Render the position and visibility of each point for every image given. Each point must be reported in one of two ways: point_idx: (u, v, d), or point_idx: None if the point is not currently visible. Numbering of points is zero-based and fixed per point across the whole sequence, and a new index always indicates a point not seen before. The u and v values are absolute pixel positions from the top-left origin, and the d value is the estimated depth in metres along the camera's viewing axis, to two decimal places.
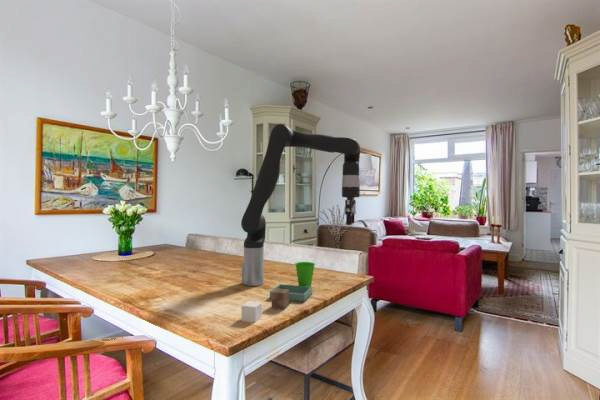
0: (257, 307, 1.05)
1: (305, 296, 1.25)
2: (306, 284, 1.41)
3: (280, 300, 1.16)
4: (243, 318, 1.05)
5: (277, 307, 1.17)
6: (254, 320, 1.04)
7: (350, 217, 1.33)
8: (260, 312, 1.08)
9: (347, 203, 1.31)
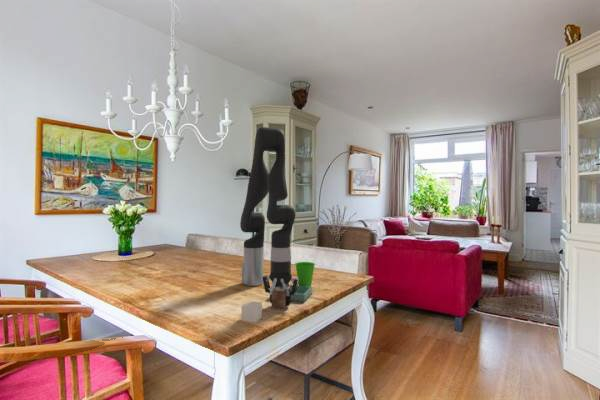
0: (257, 307, 1.05)
1: (305, 296, 1.25)
2: (306, 284, 1.41)
3: (280, 300, 1.16)
4: (243, 318, 1.05)
5: (277, 307, 1.17)
6: (254, 320, 1.04)
7: None
8: (260, 312, 1.08)
9: (297, 283, 1.17)
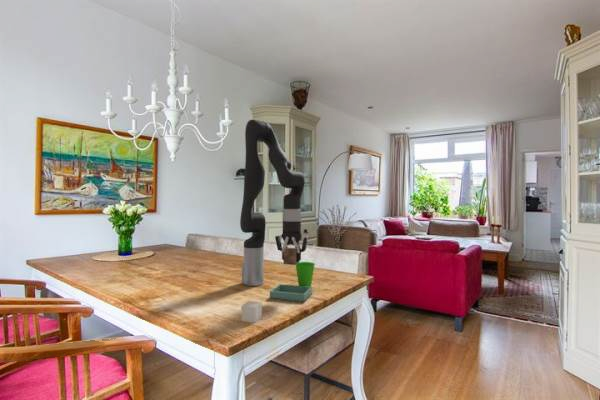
0: (257, 307, 1.05)
1: (305, 296, 1.25)
2: (306, 284, 1.41)
3: (291, 256, 1.29)
4: (243, 318, 1.05)
5: (288, 262, 1.29)
6: (254, 320, 1.04)
7: None
8: (260, 312, 1.08)
9: (306, 241, 1.29)
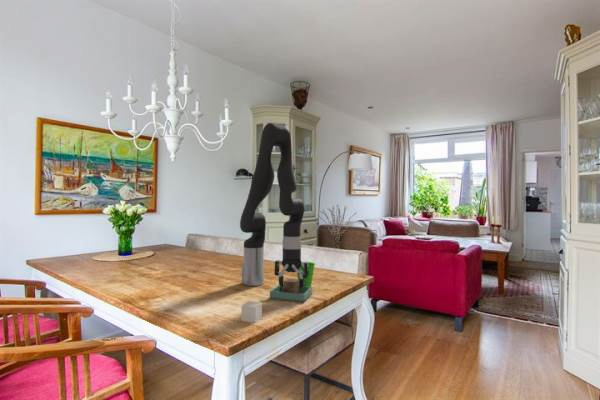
0: (257, 307, 1.05)
1: (305, 296, 1.25)
2: (306, 284, 1.41)
3: (291, 288, 1.29)
4: (243, 318, 1.05)
5: None
6: (254, 320, 1.04)
7: None
8: (260, 312, 1.08)
9: (307, 266, 1.29)
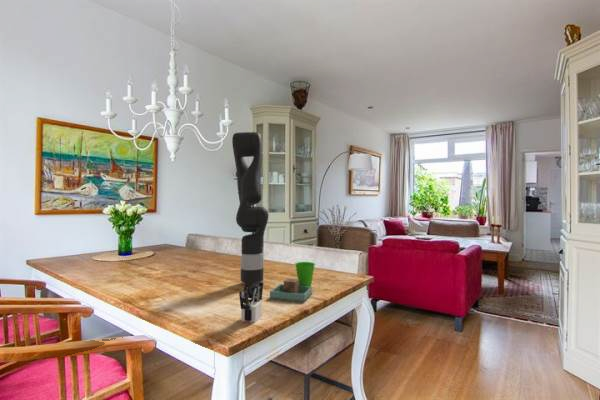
0: (257, 307, 1.05)
1: (305, 296, 1.25)
2: (306, 284, 1.41)
3: (291, 288, 1.29)
4: (243, 318, 1.05)
5: None
6: (254, 320, 1.04)
7: None
8: (260, 311, 1.08)
9: None
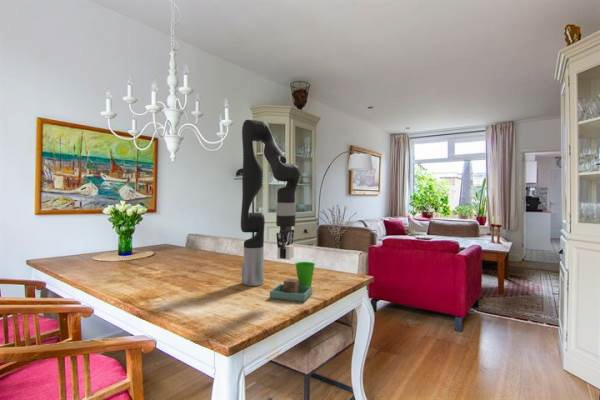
0: (290, 247, 1.26)
1: (305, 296, 1.25)
2: (306, 284, 1.41)
3: (291, 288, 1.29)
4: (279, 256, 1.26)
5: None
6: (288, 257, 1.25)
7: None
8: (292, 252, 1.28)
9: None
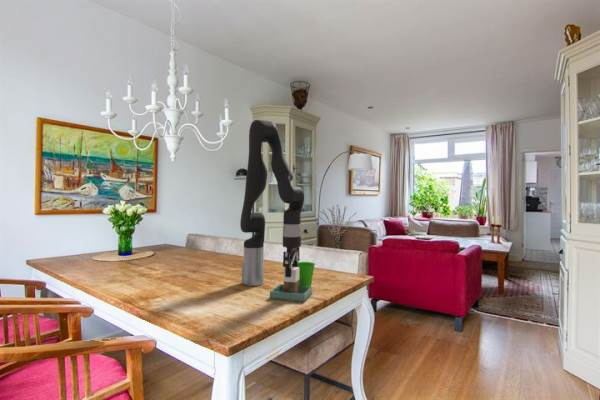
0: (296, 270, 1.30)
1: (305, 296, 1.25)
2: (306, 284, 1.41)
3: (291, 288, 1.29)
4: (285, 279, 1.30)
5: None
6: (294, 280, 1.28)
7: None
8: (298, 274, 1.32)
9: None
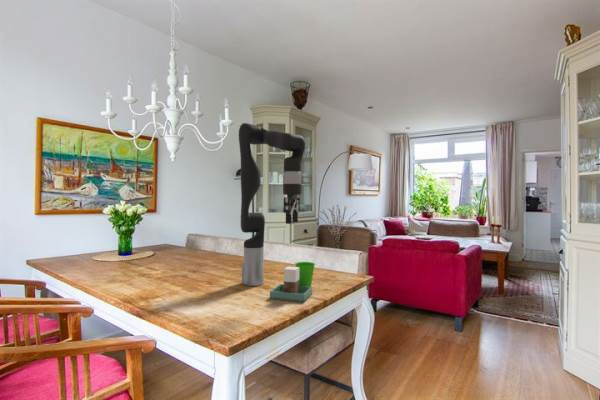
0: (296, 270, 1.30)
1: (305, 296, 1.25)
2: (306, 284, 1.41)
3: (291, 288, 1.29)
4: (285, 279, 1.30)
5: None
6: (294, 280, 1.28)
7: None
8: (298, 274, 1.32)
9: None
